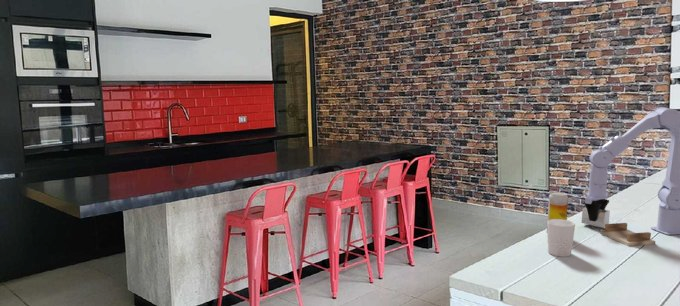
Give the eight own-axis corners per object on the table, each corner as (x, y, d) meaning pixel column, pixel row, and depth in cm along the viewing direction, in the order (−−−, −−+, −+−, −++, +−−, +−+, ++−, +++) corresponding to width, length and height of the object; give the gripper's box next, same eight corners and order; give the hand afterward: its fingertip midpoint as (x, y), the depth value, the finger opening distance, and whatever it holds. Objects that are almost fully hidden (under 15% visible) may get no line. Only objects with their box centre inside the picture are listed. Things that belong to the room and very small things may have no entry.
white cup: (571, 250, 169) (573, 220, 167) (574, 258, 161) (576, 227, 160) (545, 247, 171) (547, 218, 169) (546, 256, 164) (548, 224, 162)
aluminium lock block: (586, 220, 198) (587, 206, 197) (608, 225, 192) (609, 210, 191) (581, 222, 195) (582, 208, 194) (603, 227, 189) (604, 212, 188)
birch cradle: (625, 231, 188) (625, 221, 187) (654, 243, 174) (655, 233, 174) (599, 232, 186) (600, 223, 186) (628, 245, 173) (628, 235, 172)
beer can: (567, 239, 180) (570, 196, 177) (548, 238, 181) (550, 195, 179) (563, 233, 186) (566, 192, 183) (545, 232, 187) (547, 191, 184)
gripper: (595, 178, 199) (593, 213, 201) (577, 184, 189) (575, 221, 192) (615, 181, 193) (612, 217, 195) (597, 187, 184) (594, 225, 186)
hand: (595, 219), depth 193 cm, fingers closed on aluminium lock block, 4 cm apart
